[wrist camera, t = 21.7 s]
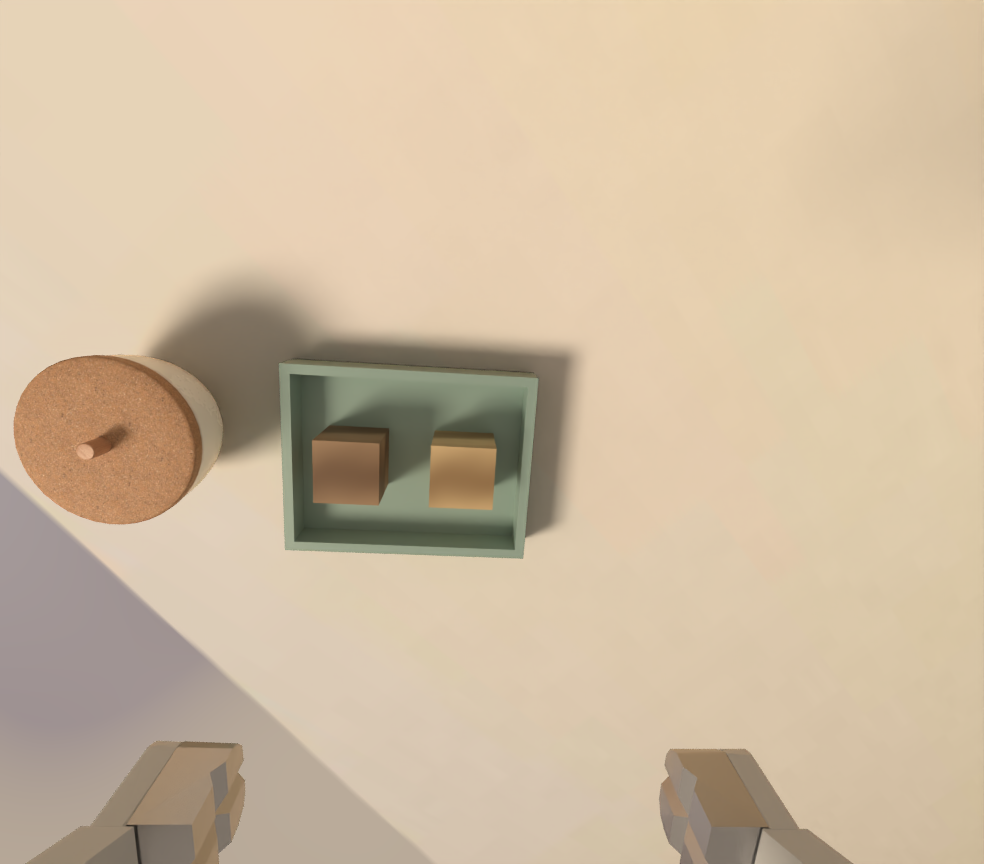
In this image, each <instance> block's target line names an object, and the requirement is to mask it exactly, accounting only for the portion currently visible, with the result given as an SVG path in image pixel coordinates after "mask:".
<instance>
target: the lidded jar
mask: <svg viewBox="0 0 984 864" xmlns="http://www.w3.org/2000/svg"><path fill="white" fill-rule="evenodd" d="M14 438H15V444H16V449H17V451H18V454H19V457H20V460H21V462H22V464H23V466H24V468H25V470H26V472H27V473H28V475H29V476H30V478H31V479H32V480H33V482H34V483H35V484H36V485H37V486H38V488H39V489H40V490H41V491H42V492H43V493H44V494H45V495H46V496H47V497H49V498H50V499H51V500H52V501H54V502H55V503H56V504H58V505H59V506H61V507H62V508H64V509H66V510H67V511H69V512H71V513H74V514H76V515H78V516H80V517H83V518H86V519H89V520H92V521H96V522H101V523H107V524H131V523H138V522H142V521H146V520H149V519H151V518H154V517H156V516H158V515H160V514H162V513H164V512H165V511H167V510H168V509H170V508H171V507H173V506H174V505H175V504H177V503H178V502H179V501H180V500H181V499H182V498H183V497H184V496H185V495H187V494H188V493H189V492H191V491H192V490H193V489H194V488H195V487H196V486H197V485H198V484H199V483H200V482H201V481H202V480H203V479H204V478H205V477H206V475H207V474H208V473H209V471H210V470H211V468H212V467H213V465H214V464H215V462H216V460H217V458H218V455H219V452H220V449H221V445H222V439H223V422H222V418H221V414H220V411H219V408H218V406H217V403H216V402H215V400H214V398H213V396H212V395H211V393H210V392H209V391H208V389H207V388H206V387H205V386H204V385H203V384H202V383H201V382H200V381H199V380H198V379H197V378H196V377H194V376H193V375H191V374H190V373H189V372H187V371H185V370H184V369H182V368H180V367H178V366H176V365H174V364H172V363H169V362H166V361H164V360H160V359H156V358H151V357H146V356H138V355H120V354H119V355H107V356H104V355H93V356H83V357H75V358H71V359H67V360H63V361H60V362H58V363H56V364H54V365H51V366H49V367H48V368H46V369H45V370H43V371H42V372H41V373H39V374H38V375H37V376H36V377H35V378H34V379H33V380H32V381H31V382H30V383H29V384H28V386H27V387H26V389H25V390H24V392H23V393H22V395H21V397H20V400H19V402H18V405H17V408H16V413H15V417H14Z"/></svg>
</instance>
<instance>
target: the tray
mask: <svg viewBox="0 0 984 864" xmlns="http://www.w3.org/2000/svg"><path fill="white" fill-rule="evenodd" d="M538 380H539V378H538V377H537V376H536V375H535V374H534V373H529V372H512V371H495V370H478V369H461V368H444V367H427V366H410V365H393V364H376V363H359V362H342V361H325V360H308V359H291V360H288V361H284V362H281V363H279V385H280V416H281V446H282V476H283V506H284V536H285V550H300V551H328V552H355V553H382V554H410V555H437V556H465V557H492V558H520V559H523V555H524V543H525V531H526V520H527V508H528V496H529V485H530V473H531V461H532V450H533V438H534V426H535V415H536V403H537V391H538ZM329 425H335V426H354V427H374V428H389V469H388V486H387V488H386V490H385V492H384V495H383V497H382V499H381V501H380V504H379V506H377V505H353V504H329V503H313V465H312V440H313V439H314V438H315V437H316V436H318V435H319V434H320V433H321V432H322V431H323V430H324V429H326V428H327V427H328V426H329ZM435 430H439V431H458V432H478V433H493V434H494V439H495V444H496V449H497V450H496V465H495V480H494V494H493V509H492V510H480V509H456V508H432V507H429V486H430V459H431V444H432V440H433V436H434V432H435Z"/></svg>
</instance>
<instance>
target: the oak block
mask: <svg viewBox="0 0 984 864" xmlns="http://www.w3.org/2000/svg"><path fill="white" fill-rule="evenodd" d="M496 450H497V449H496V444H495V439H494V434H493V433H478V432H458V431H439V430H435V432H434V436H433V440H432V444H431V459H430V486H429V507H432V508H456V509H480V510H492V509H493V494H494V480H495V465H496Z"/></svg>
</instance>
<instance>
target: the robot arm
mask: <svg viewBox="0 0 984 864" xmlns="http://www.w3.org/2000/svg"><path fill="white" fill-rule="evenodd" d="M243 761H244V758H243V749H242V745H240V744H238V743H237V744H236V743H214V742H213V743H212V742H188V741H185V742H174V741H173V742H172V741H156V742H154V743H153V744H151V745H150V746H149V747H148V748H147V749H146V750H145V751H144V753H143V754H142V756H141V757H140V758H139V760H138V761H137V762H136V764H135V765H134V766H133V768H132V769H131V771H130V772H129V773H128V775H127V776H126V777H125V779H124V780H123V782H122V783H121V784H120V786H119V787H118V788H117V790H116V791H115V793H114V794H113V795H112V797H111V798H110V799H109V801H108V802H107V803H106V805H105V806H104V808H103V809H102V810H101V812H100V813H99V814H98V816H97V817H96V819H95V820H94V821H93V823H92V824H91V826H80V827H79V828H78V829H76V830H75V831H73V832H72V833H70V834H69V835H67V836H66V837H64V838H63V839H61V840H60V841H58V842H57V843H55V844H54V845H52V846H51V847H49V848H48V849H46V850H45V851H44V852H42V853H41V854H39V855H37V856H36V857H35V858H33V859H32V860H30V861H29V862H27V863H26V864H219V855H218V853H219V852H221V851H222V850H223V849H224V848H225V847H226V846H227V845H229V844H230V843H231V842H232V839H233V837H234V835H235V832H236V830H237V827H238V825H239V821H240V817H241V814H242V810H243V807H244V799H245V780H244V779H243V778H242V776H241V775H240V774H239V773H238V771H239V769H240V766H241V765H242V763H243ZM665 767H666V770H667V772H668V775H669V777H668V778H667V779H666V780H665V781H664V782H663V783H662V784H661V789H660V797H659V801H660V814H661V819H662V823H663V827H664V831H665V833H666V836H667V839H668V842H669V844H671V845H672V846H673V847H674V848H675V849H676V850H677V851H678V852H679V853H680V854H681V859H680V864H853V863H852V862H850V861H849V860H848V859H846V858H845V857H844V856H842V855H841V854H840V853H838V852H837V851H836V850H834V849H833V848H832V847H830V846H829V845H828V844H826V843H825V842H824V841H823V840H821V839H820V838H819V837H817V836H816V835H815V834H813V833H812V832H811V831H809V830H808V829H799V827H798V826H797V824H796V822H795V821H794V819H793V818H792V816H791V815H790V813H789V812H788V810H787V809H786V807H785V805H784V804H783V802H782V801H781V799H780V798H779V796H778V795H777V793H776V792H775V790H774V788H773V787H772V785H771V784H770V782H769V781H768V779H767V778H766V776H765V775H764V773H763V771H762V770H761V768H760V767H759V765H758V764H757V762H756V761H755V759H754V758H753V756H752V755H751V753H750V752H748V751H747V750H746V749H720V750H718V749H670V750H669V751H668V753H667V755H666V760H665Z"/></svg>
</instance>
